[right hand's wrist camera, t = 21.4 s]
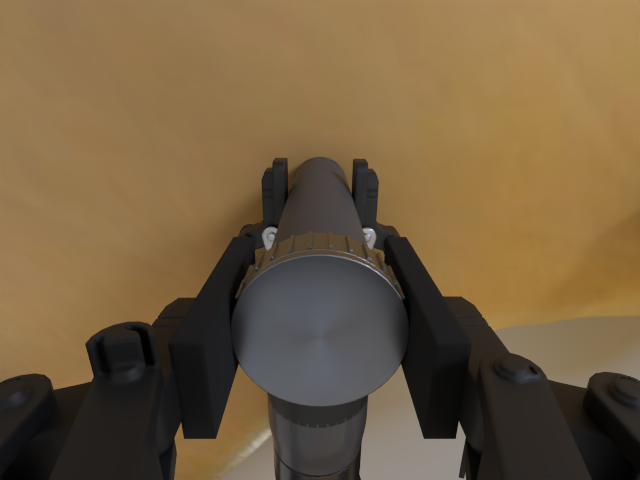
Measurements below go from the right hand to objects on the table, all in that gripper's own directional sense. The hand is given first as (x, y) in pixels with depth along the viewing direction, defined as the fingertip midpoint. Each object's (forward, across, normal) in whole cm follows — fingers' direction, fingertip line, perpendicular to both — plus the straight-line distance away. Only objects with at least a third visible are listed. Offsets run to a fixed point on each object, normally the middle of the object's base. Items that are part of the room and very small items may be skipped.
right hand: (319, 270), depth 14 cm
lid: (-4, 0, 0) cm, 4 cm away
